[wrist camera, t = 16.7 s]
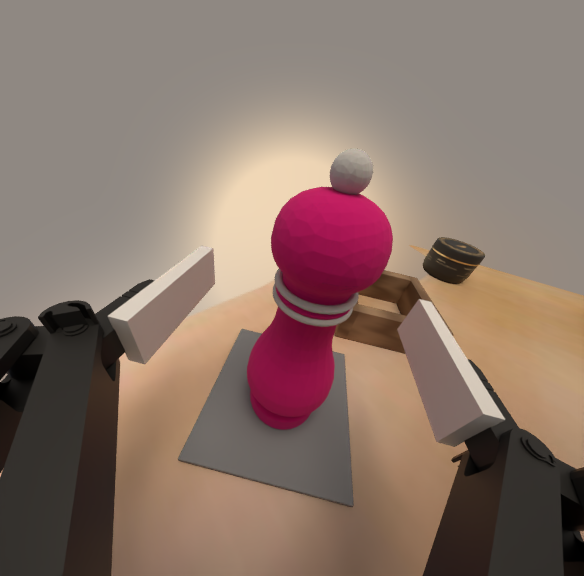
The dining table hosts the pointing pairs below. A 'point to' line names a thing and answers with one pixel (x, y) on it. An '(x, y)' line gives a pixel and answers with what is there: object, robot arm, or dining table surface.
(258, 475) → the mat
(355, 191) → the pepper mill
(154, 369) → the dining table surface
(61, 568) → the robot arm
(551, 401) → the dining table surface
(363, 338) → the walnut box
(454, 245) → the jar
